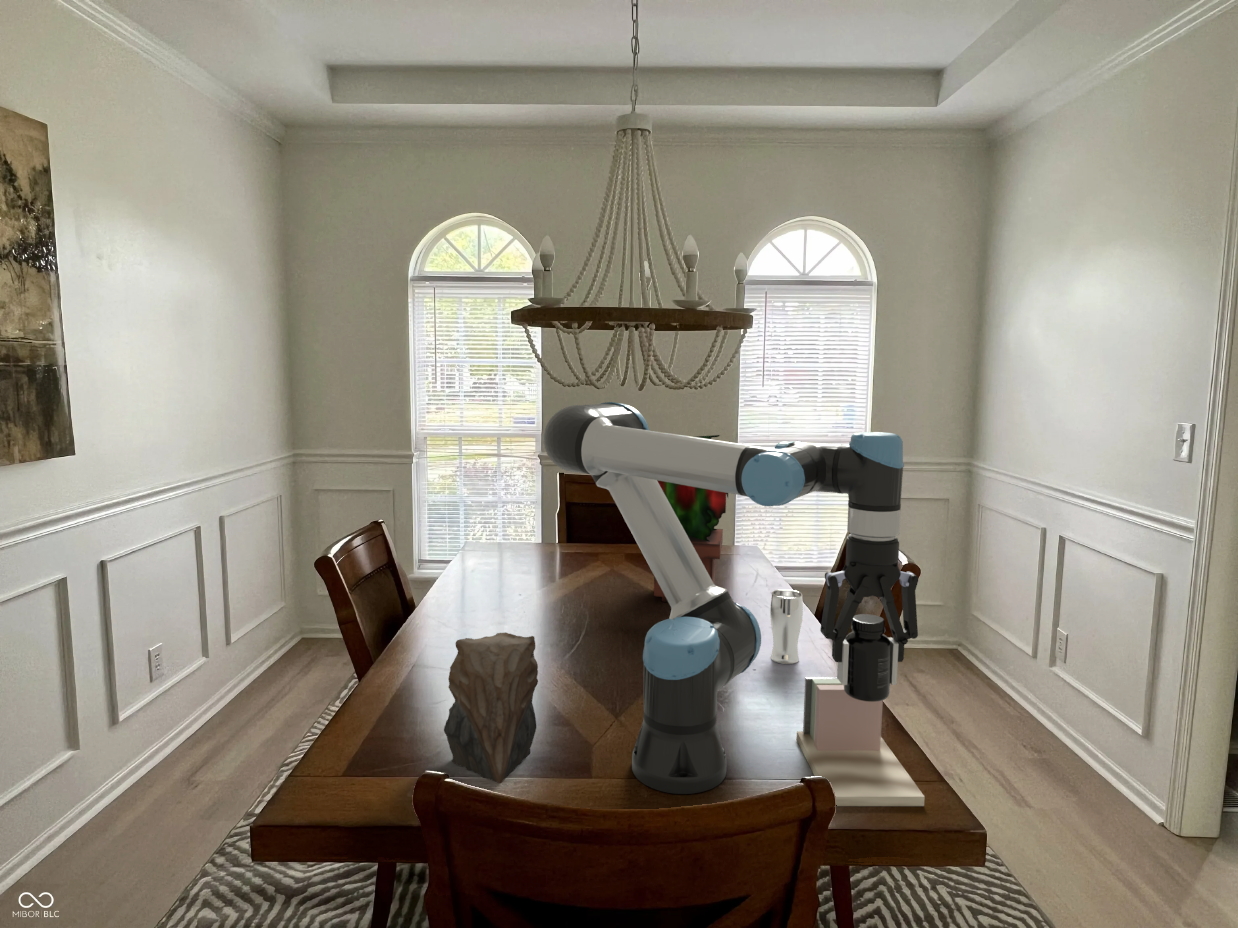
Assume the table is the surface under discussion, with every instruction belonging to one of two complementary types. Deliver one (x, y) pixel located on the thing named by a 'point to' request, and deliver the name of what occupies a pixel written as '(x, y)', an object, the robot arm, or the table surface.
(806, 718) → the bookend
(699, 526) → the potted plant
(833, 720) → the book row
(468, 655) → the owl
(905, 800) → the shelf board
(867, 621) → the supplement bottle
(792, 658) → the beer glass
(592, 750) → the table surface
